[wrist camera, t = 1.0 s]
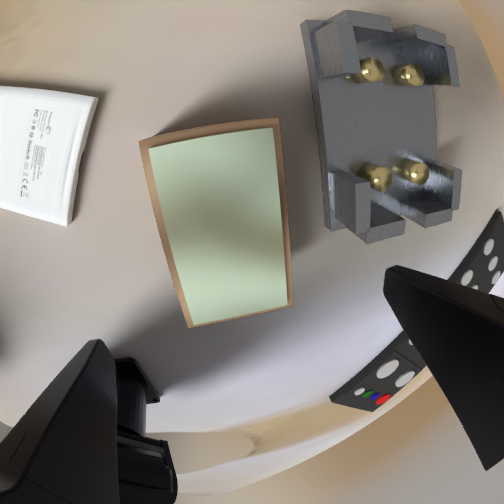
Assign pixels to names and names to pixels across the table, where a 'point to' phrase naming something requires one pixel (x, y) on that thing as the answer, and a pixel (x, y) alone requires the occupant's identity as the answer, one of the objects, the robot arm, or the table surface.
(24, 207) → the external hard drive
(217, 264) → the brown and green block
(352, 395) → the remote control
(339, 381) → the table surface
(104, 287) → the table surface
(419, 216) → the chassis
